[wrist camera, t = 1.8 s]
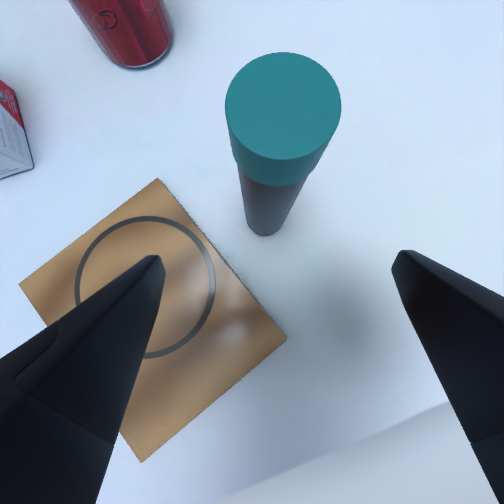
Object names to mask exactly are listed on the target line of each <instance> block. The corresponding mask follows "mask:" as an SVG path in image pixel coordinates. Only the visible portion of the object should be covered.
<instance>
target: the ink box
mask: <svg viewBox="0 0 504 504" xmlns="http://www.w3.org/2000/svg"><path fill="white" fill-rule="evenodd" d="M32 168H33V163H32V159H31V155H30V151H29V148H28V144H27V140H26V136H25V133H24V129H23V126H22V122H21V118H20V114H19V111H18V107H17V104H16V99H15V96H14V93H13V90H12V89H11V88H10V87H9V86H7V85H6V84H5V83H3V82H2V81H1V80H0V178H2V177H6V176H9V175H12V174H15V173H18V172H22V171H25V170H28V169H32Z"/></svg>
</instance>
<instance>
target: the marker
mask: <svg viewBox="0 0 504 504" xmlns="http://www.w3.org/2000/svg"><path fill="white" fill-rule="evenodd" d="M225 114H226V120H227V125H228V131H229V136H230V141H231V147H232V152H233V156H234V158H235V161H236V163H237V166H238V172H239V178H240V184H241V191H242V197H243V203H244V209H245V215H246V220H247V223H248V225H249V227H250V228H251V229H252V230H253V231H254V232H255V233H256V234H258V235H262V236H268V235H271V234H273V233H275V232H277V231H278V230H279V229H280V228H281V226H282V225H283V223H284V221H285V219H286V217H287V215H288V213H289V211H290V209H291V208H292V206H293V204H294V202H295V200H296V198H297V196H298V194H299V192H300V190H301V188H302V186H303V184H304V183H305V181H306V179H307V177H308V175H309V174H310V173H311V172H312V170H313V169H314V168H315V167H316V165H317V163H318V162H319V160H320V158H321V156H322V154H323V152H324V151H325V149H326V147H327V145H328V143H329V141H330V140H331V138H332V136H333V134H334V132H335V130H336V128H337V126H338V123H339V120H340V115H341V98H340V93H339V90H338V87H337V85H336V83H335V81H334V79H333V78H332V76H331V75H330V74H329V73H328V71H327V70H326V69H325V68H323V67H322V66H321V65H320V64H318V63H317V62H316V61H314V60H312V59H310V58H308V57H305V56H303V55H299V54H295V53H288V52H279V53H271V54H267V55H264V56H261V57H258V58H256V59H254V60H252V61H251V62H249V63H248V64H246V65H245V66H244V67H243V68H242V69H241V70H240V71H239V72H238V73H237V74H236V76H235V77H234V79H233V80H232V82H231V84H230V86H229V88H228V91H227V95H226V100H225Z"/></svg>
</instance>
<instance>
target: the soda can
mask: <svg viewBox="0 0 504 504" xmlns="http://www.w3.org/2000/svg"><path fill="white" fill-rule="evenodd" d="M68 2H69V3H70V5H71V6H72V8H73V9H74V11H75V12H76V14H77V15H78V16H79V18H80V19H81V21H82V22H83V24H84V25H85V27H86V28H87V30H88V31H89V33H90V34H91V36H92V37H93V38H94V40H95V41H96V43H97V44H98V46H99V47H100V49H101V50H102V52H103V53H104V54H105V55H106V56H107V57H108V58H109V59H111V60H112V61H113V62H115V63H117V64H119V65H122V66H126V67H131V68H139V67H145V66H148V65H151V64H153V63H155V62H156V61H157V60H159V59H160V58H161V57H162V56H163V55H164V54H165V52H166V51H167V49H168V47H169V45H170V42H171V39H172V32H173V30H172V22H171V19H170V16H169V13H168V10H167V7H166V4H165V1H164V0H68Z"/></svg>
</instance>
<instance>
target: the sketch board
mask: <svg viewBox="0 0 504 504" xmlns="http://www.w3.org/2000/svg"><path fill="white" fill-rule="evenodd" d="M147 255H159V256H160V257H161V259H162V262H163V265H164V268H165V271H166V277H165V282H164V287H163V292H162V297H161V302H160V307H159V311H158V314H157V318H156V321H155V324H154V327H153V330H152V333H151V336H150V339H149V342H148V345H147V348H146V351H145V354H144V357H143V360H142V363H141V366H140V369H139V372H138V375H137V378H136V381H135V384H134V387H133V390H132V393H131V396H130V399H129V402H128V405H127V409H126V412H125V415H124V418H123V421H122V424H121V427H120V430H119V432H120V433H121V435H122V436H123V438H124V439H125V440H126V442H127V443H128V445H129V446H130V448H131V449H132V451H133V452H134V454H135V455H136V456H137V458H138V459H139V461H140V462H141V463H142V462H143V461H144V460H146V459H147V458H148V457H149V456H150V455H152V454H153V453H154V452H155V451H156V450H157V449H159V448H160V447H161V446H162V445H163V444H165V443H166V442H167V441H168V440H169V439H170V438H172V437H173V436H174V435H175V434H176V433H177V432H179V431H180V430H181V429H182V428H183V427H185V426H186V425H187V424H188V423H189V422H190V421H192V420H193V419H194V418H195V417H196V416H198V415H199V414H200V413H201V412H202V411H203V410H205V409H206V408H207V407H208V406H209V405H211V404H212V403H213V402H214V401H215V400H216V399H218V398H219V397H220V396H221V395H222V394H224V393H225V392H226V391H227V390H228V389H229V388H231V387H232V386H233V385H234V384H235V383H237V382H238V381H239V380H240V379H241V378H242V377H244V376H245V375H246V374H247V373H248V372H250V371H251V370H252V369H253V368H254V367H255V366H257V365H258V364H259V363H260V362H261V361H263V360H264V359H265V358H266V357H267V356H268V355H270V354H271V353H272V352H273V351H274V350H276V349H277V348H278V347H279V346H280V345H281V344H283V343H284V342H285V341H286V340H287V338H286V337H285V335H284V334H283V333H282V332H281V330H280V329H279V328H278V327H277V325H276V324H275V323H274V322H273V320H272V319H271V318H270V317H269V315H268V314H267V313H266V312H265V310H264V309H263V308H262V307H261V305H260V304H259V303H258V302H257V300H256V299H255V298H254V297H253V295H252V294H251V293H250V292H249V290H248V289H247V288H246V287H245V285H244V284H243V283H242V282H241V280H240V279H239V278H238V277H237V275H236V274H235V273H234V272H233V270H232V269H231V268H230V267H229V265H228V264H227V263H226V262H225V260H224V259H223V258H222V257H221V255H220V254H219V253H218V252H217V250H216V249H215V248H214V247H213V245H212V244H211V243H210V242H209V240H208V239H207V238H206V237H205V235H204V234H203V233H202V232H201V230H200V229H199V228H198V227H197V226H196V224H195V223H194V222H193V221H192V219H191V218H190V217H189V216H188V214H187V213H186V212H185V211H184V209H183V208H182V207H181V206H180V204H179V203H178V202H177V201H176V199H175V198H174V197H173V196H172V194H171V193H170V192H169V191H168V189H167V188H166V187H165V186H164V184H163V183H162V182H161V181H160V180H159V179H158V178H156V179H155V180H154V181H152V182H151V183H150V184H149V185H147V186H146V187H145V188H143V189H142V190H141V191H139V192H138V193H137V194H136V195H134V196H133V197H132V198H130V199H129V200H128V201H126V202H125V203H124V204H122V205H121V206H120V207H119V208H117V209H116V210H115V211H113V212H112V213H111V214H109V215H108V216H107V217H105V218H104V219H103V220H102V221H100V222H99V223H98V224H96V225H95V226H94V227H92V228H91V229H90V230H89V231H87V232H86V233H85V234H83V235H82V236H81V237H79V238H78V239H77V240H75V241H74V242H73V243H72V244H70V245H69V246H68V247H66V248H65V249H64V250H62V251H61V252H60V253H58V254H57V255H56V256H55V257H53V258H52V259H51V260H49V261H48V262H47V263H45V264H44V265H43V266H42V267H40V268H39V269H38V270H36V271H35V272H34V273H32V274H31V275H30V276H28V277H27V278H26V279H25V280H23V281H22V282H21V283H19V286H20V288H21V289H22V290H23V292H24V293H25V295H26V296H27V298H28V299H29V301H30V302H31V304H32V305H33V306H34V308H35V309H36V311H37V312H38V314H39V315H40V317H41V318H42V320H43V321H44V322H45V324H46V325H47V327H48V326H49V325H51V324H52V323H54V322H55V321H56V320H59V319H60V318H61V317H62V316H63V315H65V314H66V313H68V312H69V311H70V310H72V309H73V308H75V307H76V306H77V305H79V304H80V303H81V302H83V301H84V300H86V299H87V298H88V297H90V296H91V295H93V294H94V293H95V292H97V291H98V290H100V289H101V288H102V287H104V286H105V285H106V284H108V283H109V282H111V281H112V280H113V279H115V278H116V277H118V276H119V275H120V274H122V273H123V272H125V271H126V270H127V269H129V268H130V267H131V266H133V265H134V264H136V263H137V262H138V261H140V260H141V259H143V258H144V257H145V256H147Z"/></svg>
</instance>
